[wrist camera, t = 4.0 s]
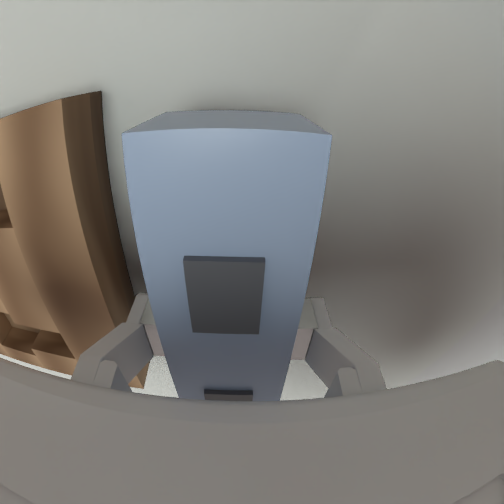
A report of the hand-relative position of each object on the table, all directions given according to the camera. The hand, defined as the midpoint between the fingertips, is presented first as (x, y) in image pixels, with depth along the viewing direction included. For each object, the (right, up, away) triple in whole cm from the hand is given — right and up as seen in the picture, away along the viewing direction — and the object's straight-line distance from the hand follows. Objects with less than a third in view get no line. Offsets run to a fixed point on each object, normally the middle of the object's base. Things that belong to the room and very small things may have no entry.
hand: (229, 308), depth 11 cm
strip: (0, +1, +2) cm, 3 cm away
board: (-14, +2, +2) cm, 14 cm away
